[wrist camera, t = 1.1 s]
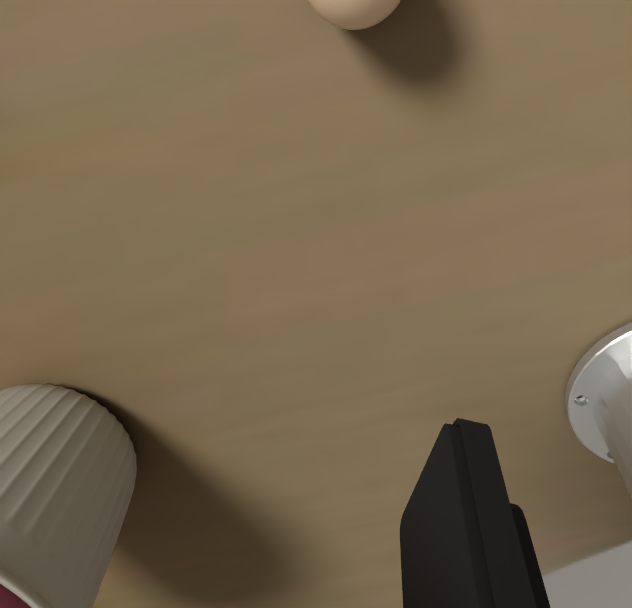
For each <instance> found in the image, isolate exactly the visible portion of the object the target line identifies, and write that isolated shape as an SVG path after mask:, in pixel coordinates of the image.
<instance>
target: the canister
mask: <svg viewBox="0 0 632 608" xmlns="http://www.w3.org/2000/svg"><path fill="white" fill-rule="evenodd" d="M136 475H137V464H136V454H135V451H134V446H133V443H132V441H131V440H130V438H129V434H128V433H127V432H126V431H125V430H124V428H123V425H122V424H121V423H120V422H118V421H117V419H116V417H115V415H113V414H111V413H110V412H109V411H108V410H107V409H106V407H103V406H101V405H100V404H98V403H97V401H96V400H92V399H90V398H89V397H87V396H86V395H85V394H80V393H78V392H76V391H75V390H70V389H67V388H64V387H63V386H53V385H51V384H39V383H33V384H22V385H18V386H15V387H10V388H6V389H4V390H1V391H0V608H92V607H93V605H94V602H95V599H96V596H97V594H98V591H99V588H100V585H101V583H102V580H103V577H104V575H105V572H106V569H107V567H108V564H109V561H110V558H111V556H112V553H113V550H114V547H115V545H116V542H117V539H118V536H119V533H120V530H121V527H122V524H123V521H124V518H125V516H126V513H127V510H128V507H129V504H130V501H131V497H132V494H133V491H134V486H135V480H136Z"/></svg>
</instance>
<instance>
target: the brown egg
mask: <svg viewBox="0 0 632 608" xmlns="http://www.w3.org/2000/svg"><path fill="white" fill-rule="evenodd" d="M308 1H309V3H310V5H311V6H312V8H313V9H314V11H315V12H316V13H317V14H318V15H319V16H320V17H321V18H323V19H324V20H325V21H326V22H328V23H330V24H331V25H334V26H336V27H339V28H342V29H348V30H360V29H366V28H369V27H372V26H374V25H376V24H378V23H380V22H381V21H383V20H384V19H385V18H387V17H388V16H389V15H390V14H391V13H392V12H393V11H394V10H395V9H396V7H397V6H398V4H399V3H400V1H401V0H308Z"/></svg>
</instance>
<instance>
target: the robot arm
mask: <svg viewBox="0 0 632 608" xmlns="http://www.w3.org/2000/svg"><path fill="white" fill-rule="evenodd" d="M565 410H566V413H567V416H568V420H569V422H570V425H571V427H572V429H573V431H574V433H575V435H576V437H577V438H578V439H579V440H580V442H581V443H582V444H583V445H584V446H585V447H586V448H587V449H589V450H590V451H591V452H592V453H594V454H595V455H596V456H598V457H600V458H602V459H604V460H606V461H608V462H611V463H614V464H615V465H616V467H617V469H618V472H619V474H620V476H621V478H622V480H623V482H624V484H625V486H626V489H627V491H628V493H629V495H630V497H631V499H632V322H631V323H629V324H627V325H625V326H623V327H620V328H618V329H616V330H614V331H613V332H611V333H610V334H608V335H607V336H605V337H604V338H602V339H601V340H600V341H598V342H597V343H596V344H595V345H594V346H593V347H592V348H591V349H590V350H588V351H587V352H586V353H585V354H584V356H583V357H582V358H581V360H580V361H579V362H578V364H577V365H576V366H575V368H574V370H573V372H572V374H571V376H570V378H569V380H568V384H567V388H566V393H565ZM400 547H401V569H402V590H403V608H550V604H549V601H548V597H547V594H546V590H545V587H544V583H543V579H542V576H541V572H540V569H539V565H538V562H537V558H536V554H535V551H534V547H533V544H532V540H531V537H530V533H529V529H528V526H527V522H526V519H525V516H524V514H523V511H522V510H521V508H520V507H519V506H518V505H515V504H511V503H510V502H509V498H508V495H507V491H506V487H505V483H504V479H503V475H502V471H501V467H500V464H499V460H498V456H497V452H496V448H495V444H494V440H493V436H492V433H491V429H490V427H489V426H488V425H487V424H482V423H478V422H473V421H469V420H464V419H460V418H458V419H456V420H455V421H454V423H453V425H451V424H444V425H443V427H442V429H441V431H440V433H439V436H438V438H437V440H436V442H435V444H434V447H433V449H432V451H431V453H430V455H429V458H428V460H427V462H426V464H425V466H424V469H423V471H422V473H421V475H420V478H419V480H418V482H417V484H416V486H415V489H414V491H413V493H412V495H411V497H410V500H409V502H408V504H407V506H406V508H405V511H404V513H403V516H402V519H401V525H400Z"/></svg>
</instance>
